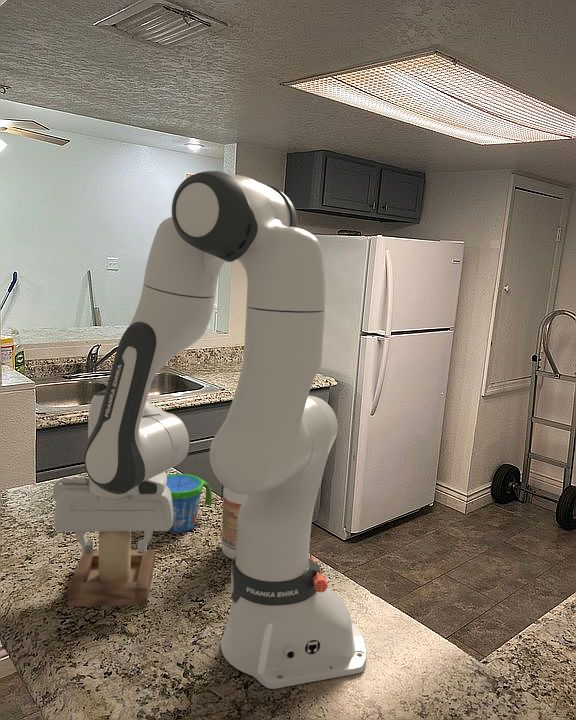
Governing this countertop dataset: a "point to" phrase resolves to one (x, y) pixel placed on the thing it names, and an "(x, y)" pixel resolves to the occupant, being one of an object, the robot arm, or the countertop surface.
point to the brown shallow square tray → (96, 593)
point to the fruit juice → (230, 521)
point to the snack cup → (186, 499)
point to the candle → (114, 556)
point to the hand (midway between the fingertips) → (115, 552)
